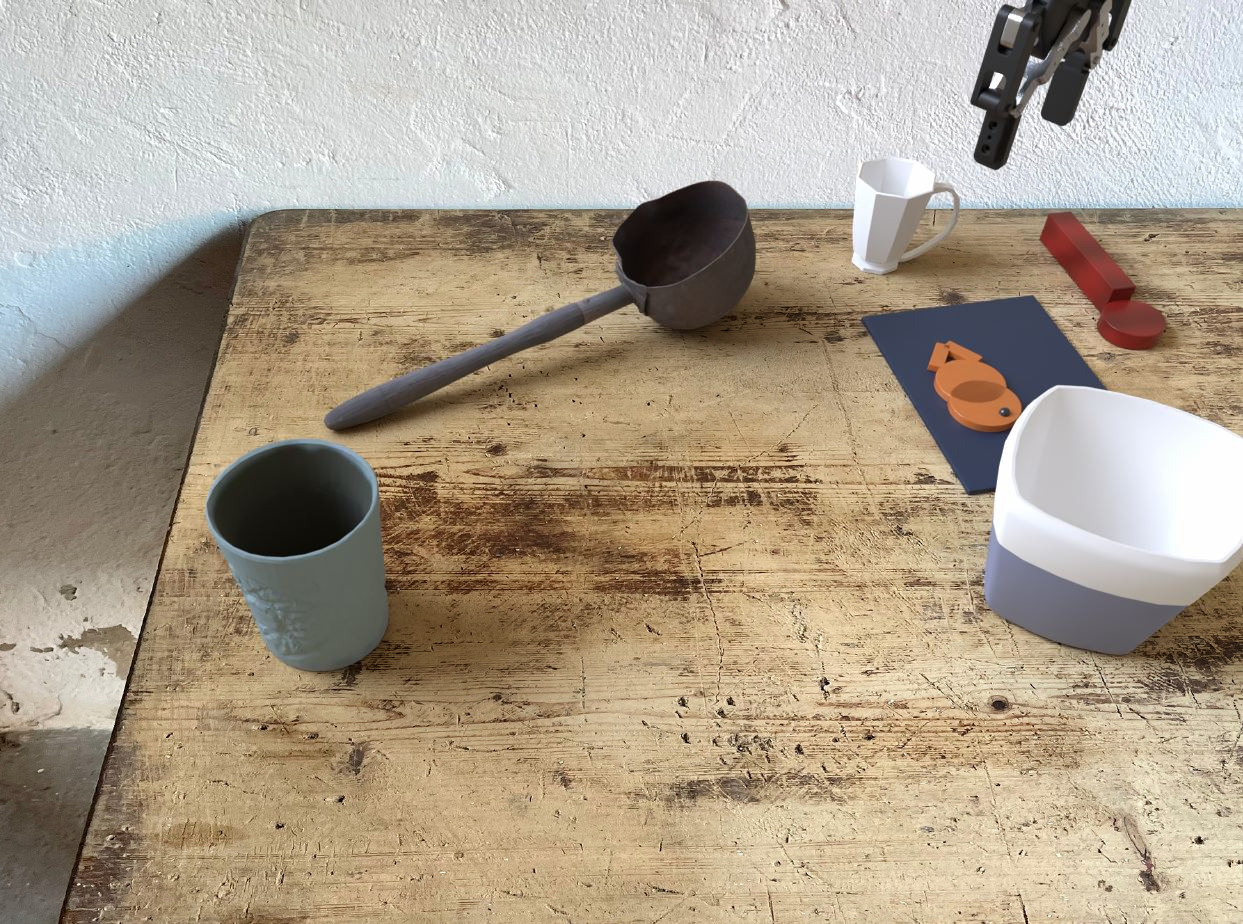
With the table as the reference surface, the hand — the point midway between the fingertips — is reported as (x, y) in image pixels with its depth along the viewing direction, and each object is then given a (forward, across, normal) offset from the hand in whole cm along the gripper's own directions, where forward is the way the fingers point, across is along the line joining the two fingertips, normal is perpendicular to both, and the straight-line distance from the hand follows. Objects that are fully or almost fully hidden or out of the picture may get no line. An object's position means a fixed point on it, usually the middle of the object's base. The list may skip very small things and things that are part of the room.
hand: (1022, 142), depth 78 cm
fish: (+18, -3, -3) cm, 19 cm away
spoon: (+19, +17, -4) cm, 26 cm away
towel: (+18, 0, -5) cm, 19 cm away
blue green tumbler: (+18, -55, +13) cm, 59 cm away
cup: (+19, +8, +12) cm, 24 cm away
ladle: (+18, -25, +23) cm, 39 cm away
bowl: (+19, -16, -20) cm, 32 cm away
